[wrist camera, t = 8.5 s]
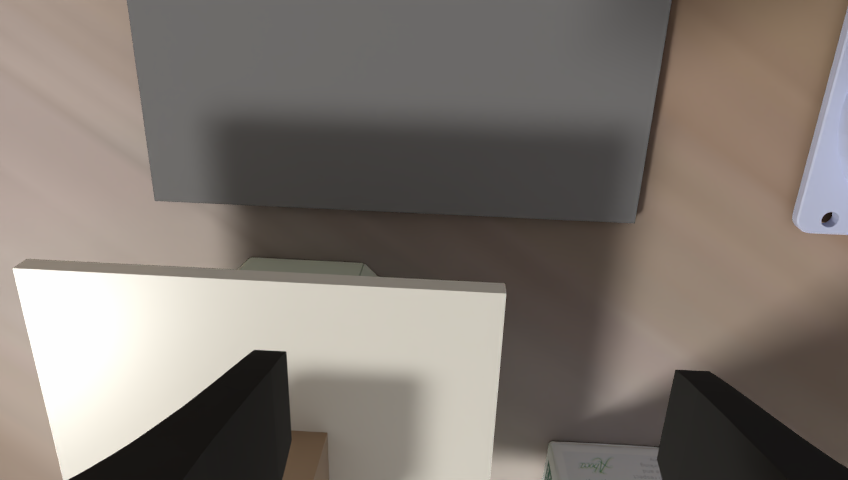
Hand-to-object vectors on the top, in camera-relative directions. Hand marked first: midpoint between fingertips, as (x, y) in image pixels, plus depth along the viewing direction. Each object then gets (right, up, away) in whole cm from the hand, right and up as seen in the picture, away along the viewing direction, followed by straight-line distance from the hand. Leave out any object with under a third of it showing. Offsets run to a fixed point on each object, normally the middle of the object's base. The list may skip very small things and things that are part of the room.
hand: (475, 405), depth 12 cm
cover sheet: (-5, -4, +8) cm, 10 cm away
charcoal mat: (-2, +11, +7) cm, 13 cm away
